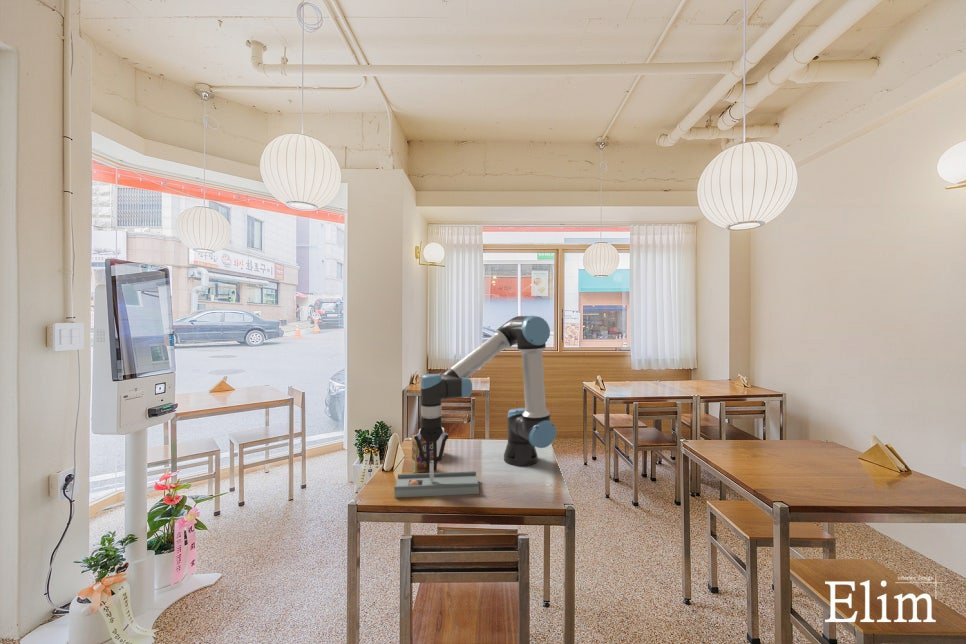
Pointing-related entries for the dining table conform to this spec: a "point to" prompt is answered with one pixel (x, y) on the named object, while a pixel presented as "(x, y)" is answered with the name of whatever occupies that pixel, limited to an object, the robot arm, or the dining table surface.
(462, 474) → the board
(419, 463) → the candy box
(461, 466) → the dining table surface
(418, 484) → the ball
